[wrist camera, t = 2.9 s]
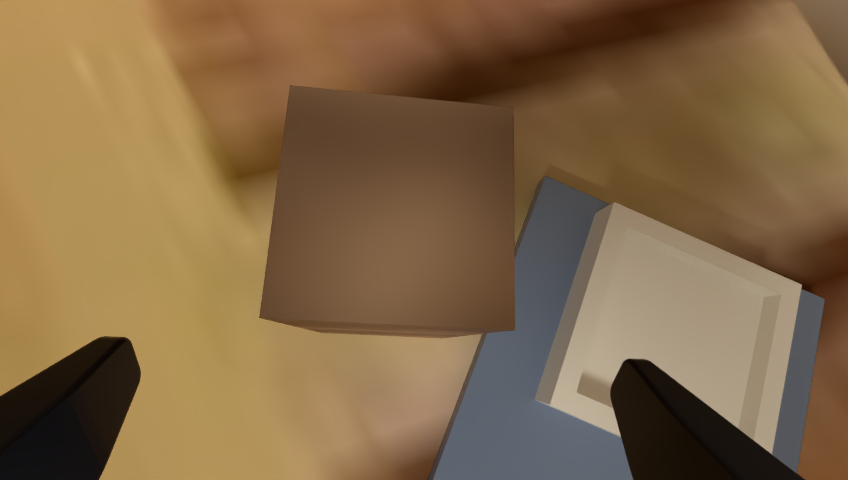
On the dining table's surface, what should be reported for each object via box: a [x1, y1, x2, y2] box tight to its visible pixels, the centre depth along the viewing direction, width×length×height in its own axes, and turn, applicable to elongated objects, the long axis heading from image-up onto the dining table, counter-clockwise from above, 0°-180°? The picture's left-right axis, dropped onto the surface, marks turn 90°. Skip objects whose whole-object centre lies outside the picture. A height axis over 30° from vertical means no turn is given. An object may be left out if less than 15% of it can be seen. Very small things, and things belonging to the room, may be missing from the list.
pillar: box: [259, 85, 515, 338], centre depth 14 cm, size 5×5×10 cm
